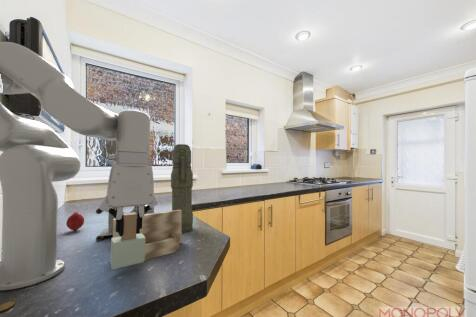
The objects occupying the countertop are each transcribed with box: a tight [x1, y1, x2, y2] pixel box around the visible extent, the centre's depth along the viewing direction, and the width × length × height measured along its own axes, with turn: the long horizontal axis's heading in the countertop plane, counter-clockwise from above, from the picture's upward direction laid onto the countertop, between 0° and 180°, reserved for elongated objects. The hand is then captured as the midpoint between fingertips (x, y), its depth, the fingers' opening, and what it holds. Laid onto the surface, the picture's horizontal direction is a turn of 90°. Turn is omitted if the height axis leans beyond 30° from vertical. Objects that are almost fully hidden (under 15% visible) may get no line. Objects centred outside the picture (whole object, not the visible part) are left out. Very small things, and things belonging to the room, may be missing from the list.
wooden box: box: [112, 210, 182, 261], centre depth 63 cm, size 20×8×11 cm, turn 127°
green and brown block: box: [109, 212, 145, 270], centre depth 52 cm, size 7×4×12 cm, turn 127°
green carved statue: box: [170, 143, 194, 233], centre depth 86 cm, size 9×12×35 cm
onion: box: [66, 210, 85, 232], centre depth 85 cm, size 6×6×8 cm
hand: (128, 232), depth 52 cm, fingers closed on green and brown block, 3 cm apart
